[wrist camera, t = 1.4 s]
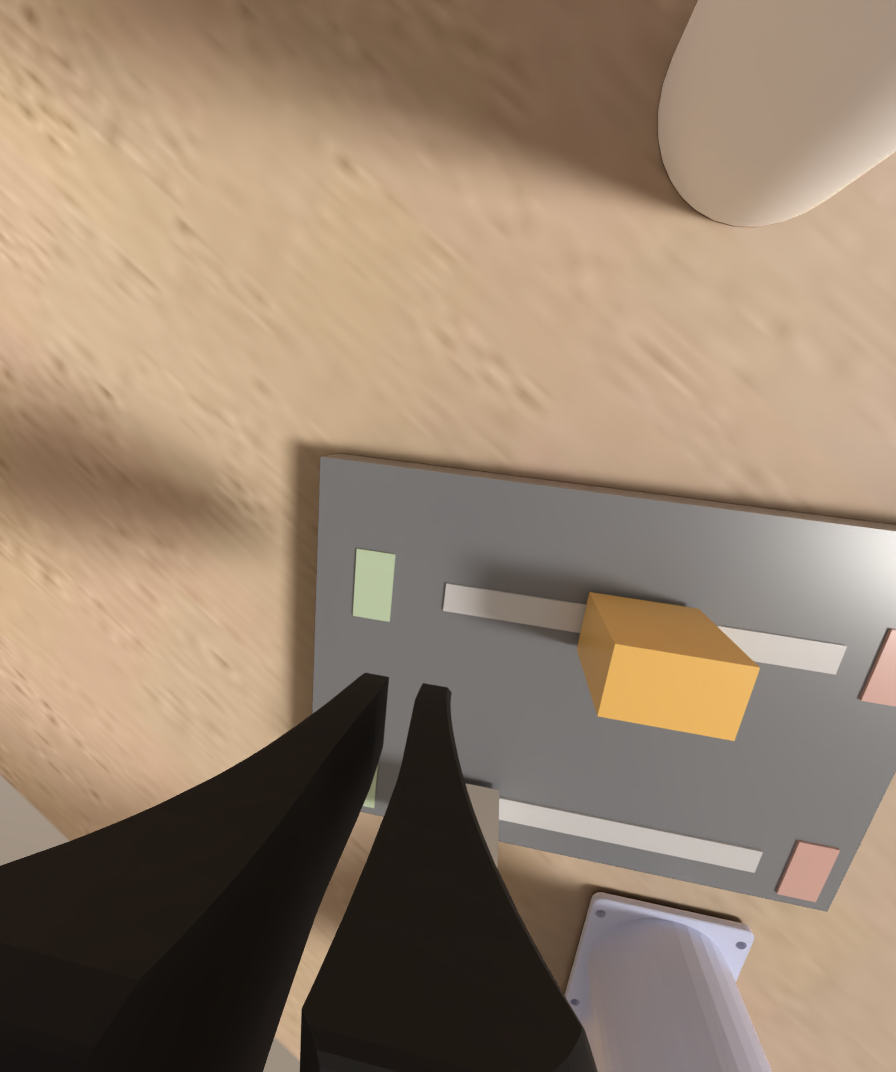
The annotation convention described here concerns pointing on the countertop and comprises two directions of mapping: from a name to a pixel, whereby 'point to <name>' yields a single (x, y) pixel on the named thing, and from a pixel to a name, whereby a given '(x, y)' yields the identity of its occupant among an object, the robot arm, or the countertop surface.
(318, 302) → the countertop surface
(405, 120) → the countertop surface
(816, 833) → the gray slider board
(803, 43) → the cylindrical container
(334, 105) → the countertop surface
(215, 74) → the countertop surface
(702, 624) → the orange rectangular block
